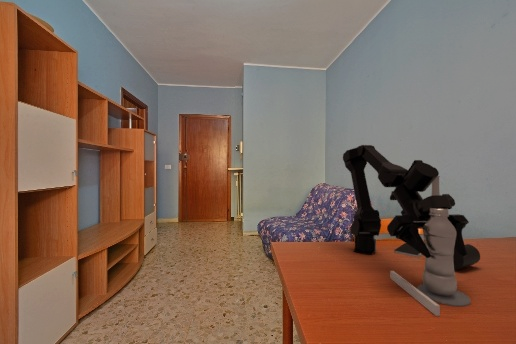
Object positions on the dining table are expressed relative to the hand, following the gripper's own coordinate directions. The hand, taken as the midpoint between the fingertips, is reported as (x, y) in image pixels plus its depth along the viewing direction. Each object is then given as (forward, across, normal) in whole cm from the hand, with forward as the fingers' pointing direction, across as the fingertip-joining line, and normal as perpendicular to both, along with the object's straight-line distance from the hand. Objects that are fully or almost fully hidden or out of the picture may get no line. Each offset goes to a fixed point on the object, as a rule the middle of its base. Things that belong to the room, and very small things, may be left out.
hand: (447, 256), depth 57 cm
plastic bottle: (+6, -1, +8) cm, 9 cm away
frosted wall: (+5, -7, +8) cm, 12 cm away
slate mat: (+6, 0, +8) cm, 10 cm away
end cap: (-5, +20, +19) cm, 28 cm away
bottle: (-20, +32, +34) cm, 51 cm away
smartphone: (-17, +18, +31) cm, 40 cm away
